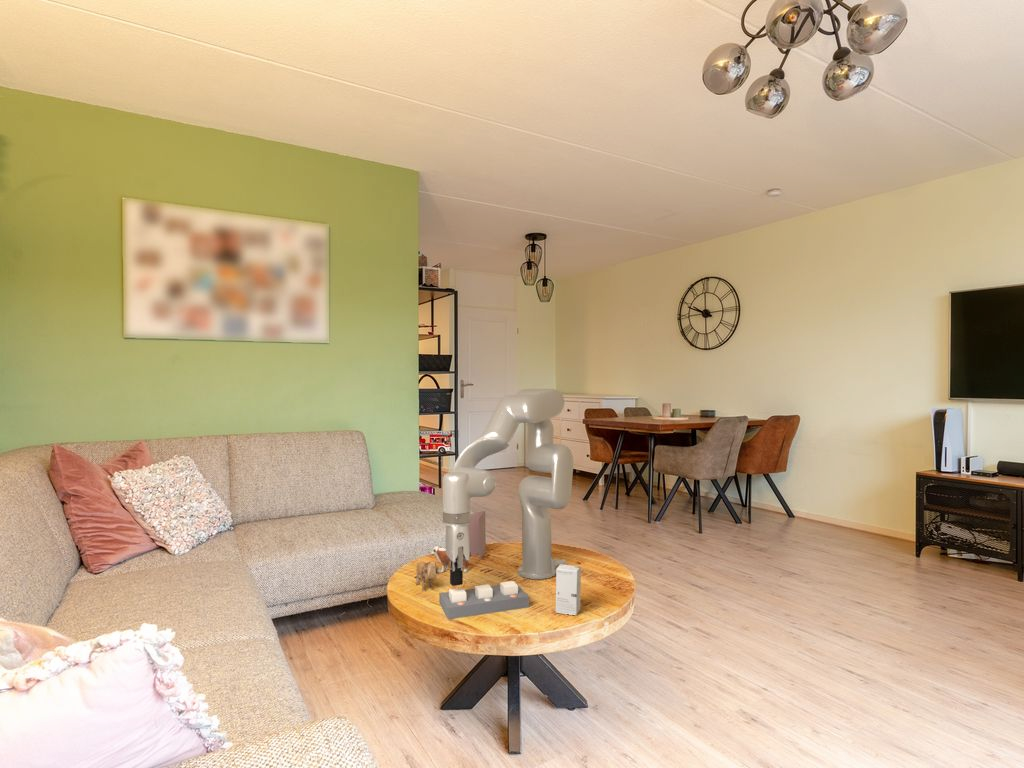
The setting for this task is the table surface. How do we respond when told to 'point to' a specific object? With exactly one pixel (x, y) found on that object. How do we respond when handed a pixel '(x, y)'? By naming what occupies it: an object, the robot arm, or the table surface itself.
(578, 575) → the skincare box
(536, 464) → the robot arm
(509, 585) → the inner button
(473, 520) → the greeting card
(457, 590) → the outer button
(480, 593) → the middle button
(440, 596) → the button board
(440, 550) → the bull figurine
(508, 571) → the table surface
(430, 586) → the lion figurine
